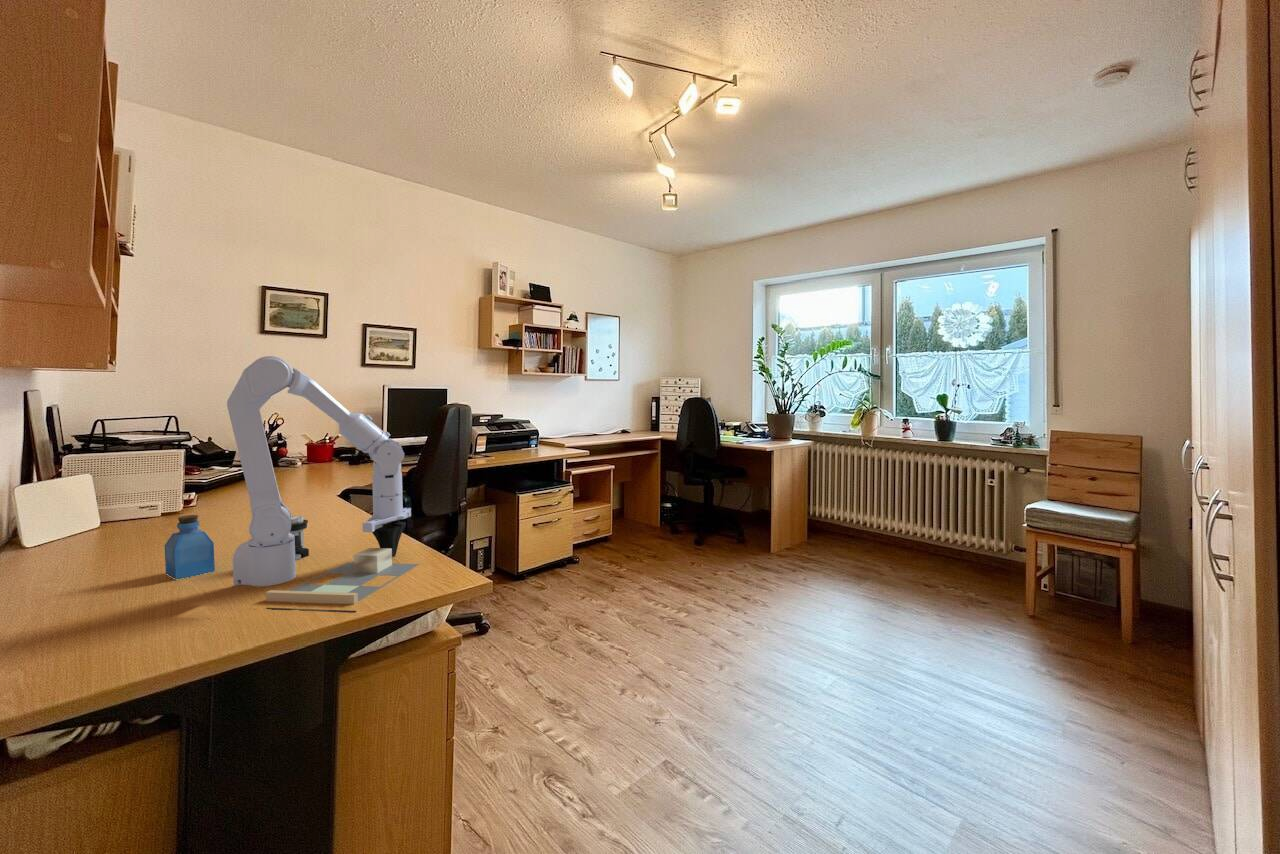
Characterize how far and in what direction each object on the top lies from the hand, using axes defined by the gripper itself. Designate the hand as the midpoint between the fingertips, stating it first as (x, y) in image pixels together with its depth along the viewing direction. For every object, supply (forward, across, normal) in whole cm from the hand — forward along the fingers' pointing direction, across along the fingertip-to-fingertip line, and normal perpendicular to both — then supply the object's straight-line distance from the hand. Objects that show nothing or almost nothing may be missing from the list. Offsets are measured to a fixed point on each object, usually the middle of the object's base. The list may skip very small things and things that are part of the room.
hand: (389, 556), depth 108 cm
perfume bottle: (+2, -7, +40) cm, 40 cm away
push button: (+2, +1, +24) cm, 24 cm away
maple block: (+1, -6, 0) cm, 6 cm away
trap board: (+2, -13, 0) cm, 13 cm away
